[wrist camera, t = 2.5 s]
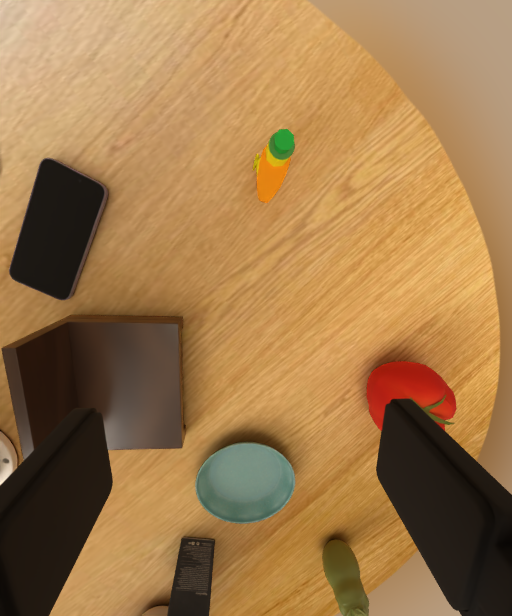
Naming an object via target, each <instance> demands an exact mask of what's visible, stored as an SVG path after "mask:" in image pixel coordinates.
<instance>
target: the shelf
mask: <svg viewBox="0 0 512 616" xmlns="http://www.w3.org/2000/svg"><path fill="white" fill-rule="evenodd" d="M182 328H183V317H166V316H109V315H70V316H68V317H66V318H64V319H62V320H60V321H58V322H55V323H53V324H51V325H49V326H47V327H45V328H43V329H41V330H39V331H36V332H34V333H32V334H30V335H28V336H26V337H24V338H22V339H20V340H17V341H15V342H13V343H11V344H9V345H7V346H5V347H3V348H1V349H2V354H3V359H4V364H5V369H6V374H7V379H8V384H9V389H10V394H11V399H12V404H13V409H14V414H15V419H16V424H17V429H18V434H19V439H20V444H21V449H22V454H23V459H24V460H25V459H26V458H27V457H28V456H29V455H30V454H31V453H32V452H33V451H34V449H35V448H36V447H37V446H38V445H39V444H40V443H41V442H42V441H43V440H44V439H45V438H46V437H47V436H48V435H49V434H50V433H51V432H52V431H53V430H54V429H55V427H56V426H57V425H58V424H59V423H60V422H61V421H62V420H63V419H64V418H65V417H66V416H67V415H68V414H69V413H70V412H71V411H72V410H73V409H75V408H95V409H96V410H97V412H100V413H101V414H102V416H103V422H104V429H105V435H106V441H107V448H108V450H125V449H175V448H182V447H183V443H184V439H185V435H186V425H184V424H183V389H182V354H181V330H182Z"/></svg>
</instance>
